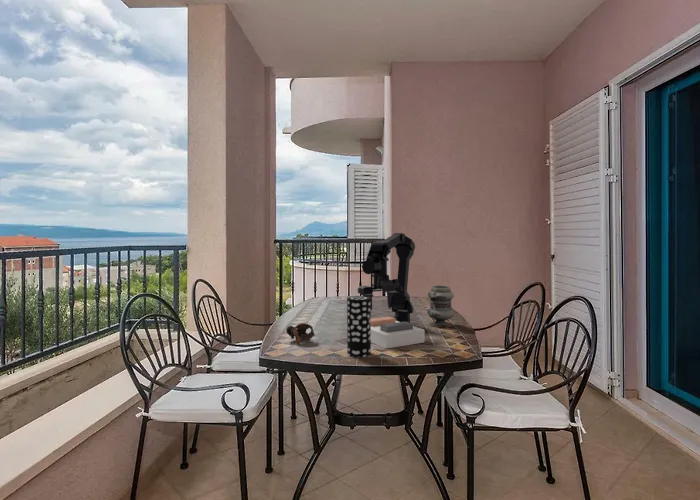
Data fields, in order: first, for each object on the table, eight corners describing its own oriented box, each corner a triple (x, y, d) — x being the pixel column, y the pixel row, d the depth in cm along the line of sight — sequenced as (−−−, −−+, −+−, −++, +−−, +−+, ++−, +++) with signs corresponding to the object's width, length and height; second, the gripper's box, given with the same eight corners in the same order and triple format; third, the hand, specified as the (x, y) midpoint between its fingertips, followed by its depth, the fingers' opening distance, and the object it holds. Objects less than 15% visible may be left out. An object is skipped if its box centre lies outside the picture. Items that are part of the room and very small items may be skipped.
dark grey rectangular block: (405, 331, 173) (405, 321, 173) (412, 333, 169) (412, 323, 169) (380, 334, 168) (380, 324, 167) (387, 337, 163) (387, 327, 163)
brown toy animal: (316, 339, 175) (318, 324, 170) (308, 355, 167) (310, 340, 163) (289, 331, 177) (290, 316, 172) (279, 346, 169) (280, 331, 164)
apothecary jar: (433, 328, 191) (433, 288, 190) (423, 322, 203) (423, 285, 202) (458, 327, 193) (458, 287, 193) (447, 321, 205) (447, 284, 204)
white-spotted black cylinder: (354, 358, 147) (353, 300, 146) (343, 352, 154) (343, 297, 153) (375, 355, 150) (374, 298, 150) (363, 349, 158) (363, 295, 157)
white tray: (390, 330, 188) (390, 318, 188) (424, 342, 167) (424, 329, 167) (354, 334, 180) (354, 323, 180) (385, 348, 159) (385, 335, 159)
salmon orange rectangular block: (389, 325, 184) (389, 316, 184) (395, 328, 179) (395, 318, 179) (365, 328, 178) (364, 319, 178) (371, 331, 174) (371, 321, 174)
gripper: (370, 275, 166) (371, 314, 167) (409, 272, 175) (409, 310, 176) (357, 272, 176) (357, 310, 177) (394, 270, 185) (394, 306, 186)
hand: (380, 309), depth 178 cm, fingers open, 9 cm apart
